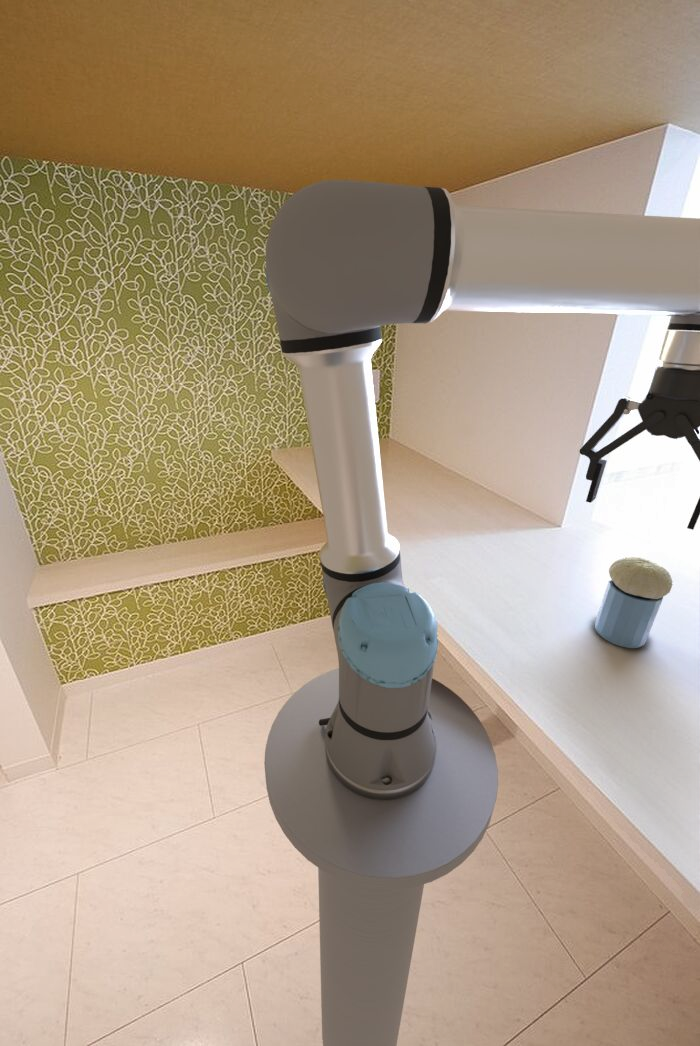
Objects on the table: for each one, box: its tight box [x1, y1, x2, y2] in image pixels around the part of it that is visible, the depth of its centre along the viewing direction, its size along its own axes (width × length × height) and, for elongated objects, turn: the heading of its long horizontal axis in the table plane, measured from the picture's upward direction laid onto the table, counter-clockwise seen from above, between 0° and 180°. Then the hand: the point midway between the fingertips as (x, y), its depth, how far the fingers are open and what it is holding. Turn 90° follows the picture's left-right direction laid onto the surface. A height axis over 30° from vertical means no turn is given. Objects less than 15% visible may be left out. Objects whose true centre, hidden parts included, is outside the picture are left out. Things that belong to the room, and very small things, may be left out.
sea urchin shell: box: [608, 556, 674, 599], centre depth 75 cm, size 9×8×8 cm
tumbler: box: [594, 577, 664, 649], centre depth 78 cm, size 8×8×10 cm
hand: (637, 512), depth 67 cm, fingers open, 13 cm apart
